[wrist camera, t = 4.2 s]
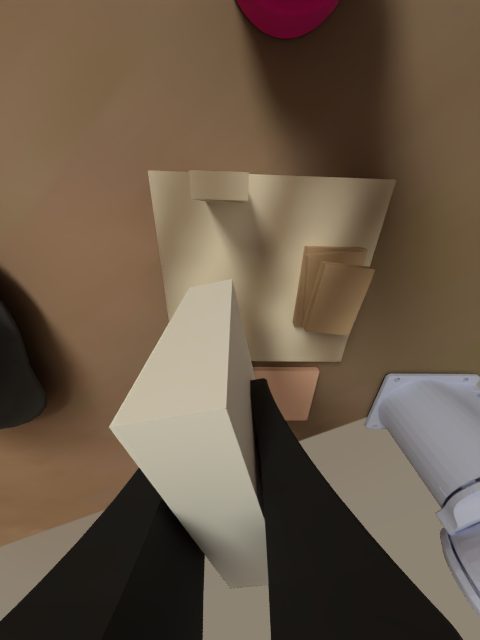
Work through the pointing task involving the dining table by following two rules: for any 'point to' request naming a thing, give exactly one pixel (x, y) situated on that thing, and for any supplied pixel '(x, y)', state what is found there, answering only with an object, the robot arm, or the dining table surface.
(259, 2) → the pepper mill
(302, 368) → the mat
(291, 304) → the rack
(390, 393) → the robot arm
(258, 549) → the white upright panel
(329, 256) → the offcut stack
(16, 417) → the casserole
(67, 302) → the dining table surface
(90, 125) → the dining table surface
